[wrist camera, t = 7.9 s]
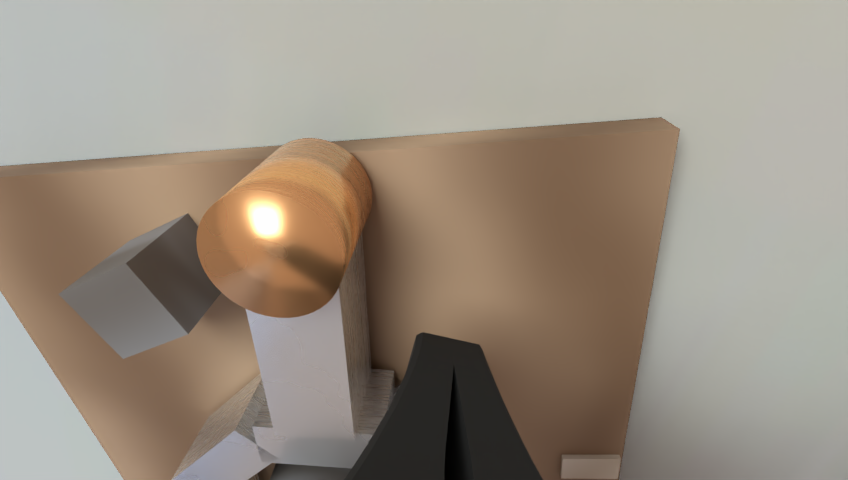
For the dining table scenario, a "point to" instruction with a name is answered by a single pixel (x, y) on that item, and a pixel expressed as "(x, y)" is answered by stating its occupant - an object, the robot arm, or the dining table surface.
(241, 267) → the collar
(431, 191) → the board
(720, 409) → the dining table surface
